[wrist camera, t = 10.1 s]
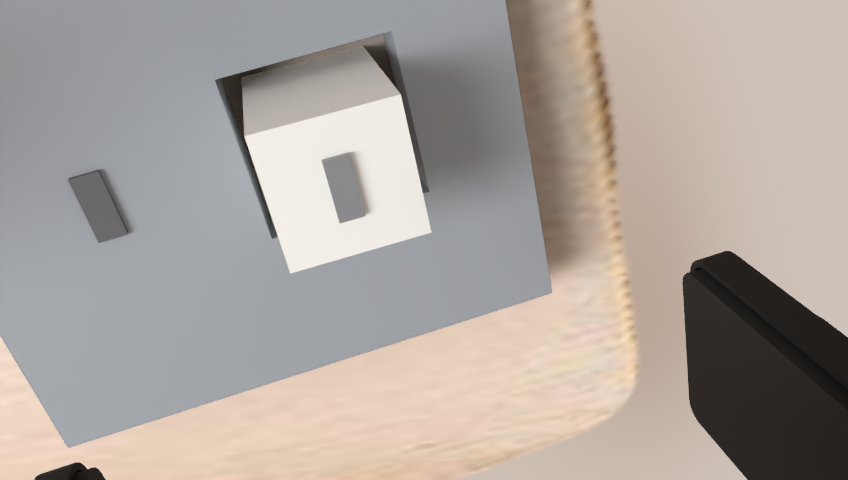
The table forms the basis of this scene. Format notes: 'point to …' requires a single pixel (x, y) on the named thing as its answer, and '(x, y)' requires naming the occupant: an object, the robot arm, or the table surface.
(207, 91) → the grey peg hole board
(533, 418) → the table surface
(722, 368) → the robot arm
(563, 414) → the table surface
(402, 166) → the charger block
